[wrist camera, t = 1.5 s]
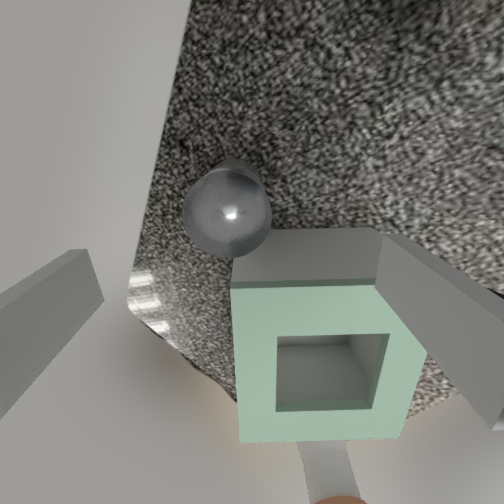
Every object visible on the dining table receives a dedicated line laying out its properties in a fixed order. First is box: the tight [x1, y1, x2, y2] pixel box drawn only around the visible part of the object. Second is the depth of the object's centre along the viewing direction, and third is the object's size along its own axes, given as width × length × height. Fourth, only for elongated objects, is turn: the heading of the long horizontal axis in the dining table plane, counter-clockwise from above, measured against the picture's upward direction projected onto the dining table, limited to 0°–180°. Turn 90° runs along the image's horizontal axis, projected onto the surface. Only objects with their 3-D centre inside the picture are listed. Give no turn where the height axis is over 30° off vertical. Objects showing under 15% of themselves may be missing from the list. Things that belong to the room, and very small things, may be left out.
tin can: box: [182, 158, 272, 258], centre depth 23 cm, size 6×6×12 cm
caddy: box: [230, 227, 427, 443], centre depth 28 cm, size 18×16×13 cm
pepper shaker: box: [296, 440, 366, 504], centre depth 32 cm, size 7×7×19 cm
